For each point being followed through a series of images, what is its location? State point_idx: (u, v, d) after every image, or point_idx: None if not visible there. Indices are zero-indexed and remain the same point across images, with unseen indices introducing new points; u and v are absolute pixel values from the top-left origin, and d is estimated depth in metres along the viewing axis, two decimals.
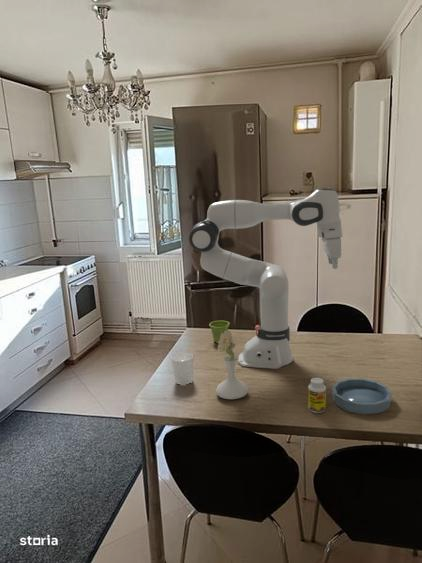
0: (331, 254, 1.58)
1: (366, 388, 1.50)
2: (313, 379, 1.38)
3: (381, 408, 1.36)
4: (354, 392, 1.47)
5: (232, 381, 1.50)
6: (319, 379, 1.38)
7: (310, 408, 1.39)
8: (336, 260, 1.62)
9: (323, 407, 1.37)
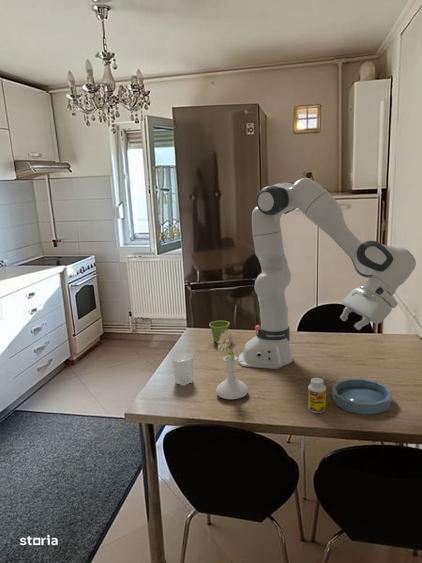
0: (375, 314, 1.32)
1: (366, 388, 1.50)
2: (313, 379, 1.38)
3: (381, 408, 1.36)
4: (354, 392, 1.47)
5: (232, 381, 1.50)
6: (319, 379, 1.38)
7: (310, 408, 1.39)
8: (366, 323, 1.36)
9: (323, 407, 1.37)
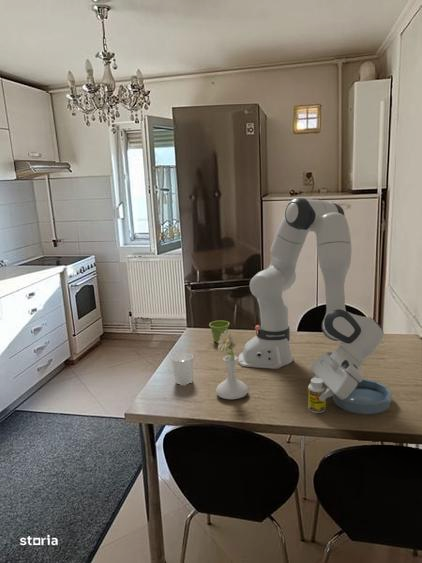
0: (340, 390, 1.28)
1: (366, 388, 1.50)
2: (313, 379, 1.38)
3: (381, 408, 1.36)
4: (354, 392, 1.47)
5: (232, 381, 1.50)
6: (319, 379, 1.38)
7: (310, 408, 1.39)
8: (330, 395, 1.34)
9: (323, 407, 1.37)
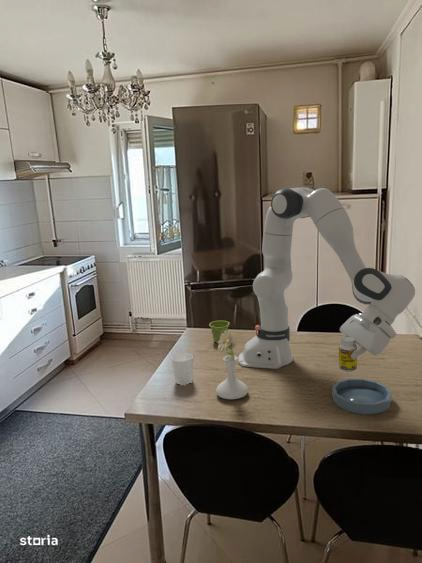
0: (373, 346, 1.28)
1: (366, 388, 1.50)
2: (344, 338, 1.38)
3: (381, 408, 1.36)
4: (354, 392, 1.47)
5: (232, 381, 1.50)
6: (350, 338, 1.38)
7: (341, 367, 1.38)
8: (362, 352, 1.33)
9: (354, 366, 1.37)
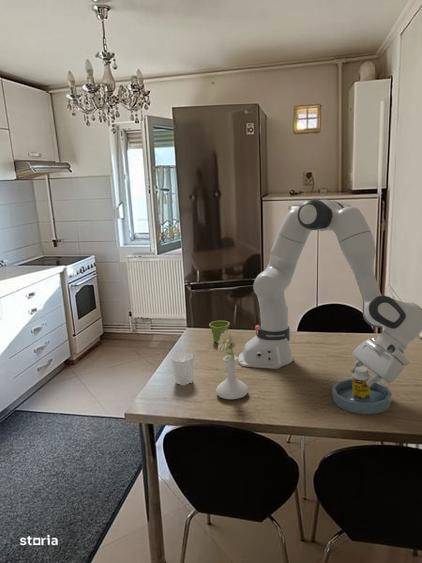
0: (387, 373, 1.32)
1: None
2: (357, 368, 1.42)
3: (381, 408, 1.36)
4: None
5: (232, 381, 1.50)
6: (363, 368, 1.42)
7: (355, 396, 1.42)
8: (377, 380, 1.36)
9: (368, 395, 1.41)
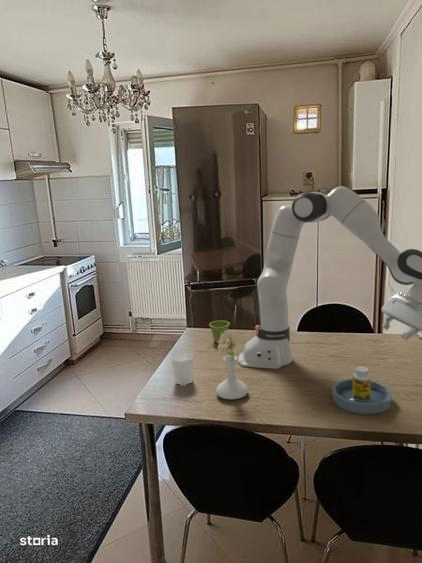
0: None
1: None
2: (358, 368, 1.42)
3: (381, 408, 1.36)
4: None
5: (232, 381, 1.50)
6: (364, 368, 1.42)
7: (355, 396, 1.42)
8: (415, 333, 1.37)
9: (368, 395, 1.41)
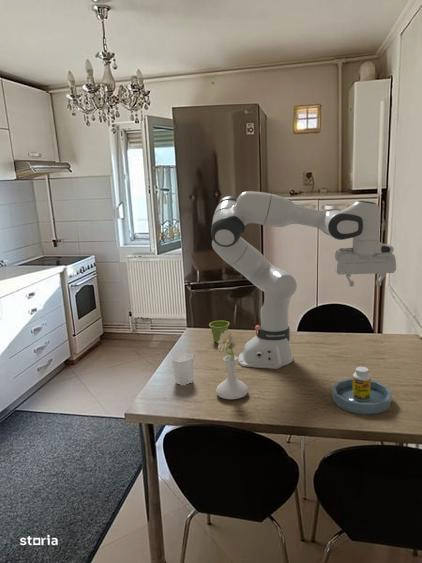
0: (395, 267, 1.51)
1: None
2: (358, 368, 1.42)
3: (381, 408, 1.36)
4: None
5: (232, 381, 1.50)
6: (364, 368, 1.42)
7: (355, 396, 1.42)
8: None
9: (368, 395, 1.41)
